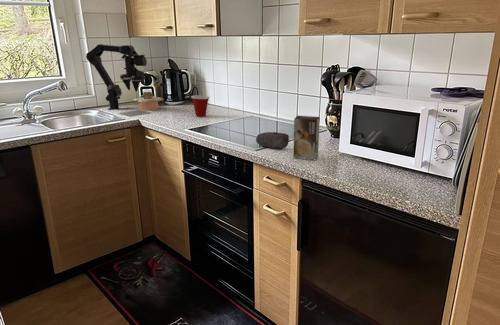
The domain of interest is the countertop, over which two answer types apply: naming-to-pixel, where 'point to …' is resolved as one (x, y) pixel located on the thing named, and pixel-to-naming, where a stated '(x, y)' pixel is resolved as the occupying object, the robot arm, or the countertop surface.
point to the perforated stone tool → (273, 140)
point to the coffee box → (306, 137)
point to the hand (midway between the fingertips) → (132, 90)
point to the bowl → (148, 105)
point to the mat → (134, 113)
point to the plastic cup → (200, 105)
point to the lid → (147, 98)
